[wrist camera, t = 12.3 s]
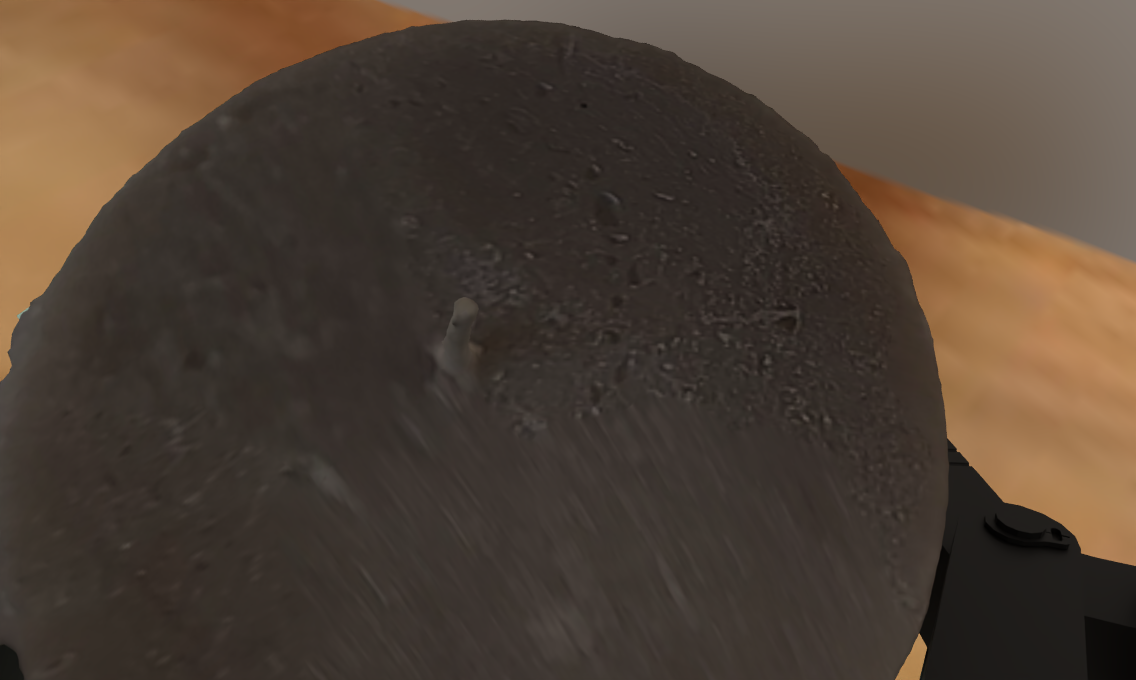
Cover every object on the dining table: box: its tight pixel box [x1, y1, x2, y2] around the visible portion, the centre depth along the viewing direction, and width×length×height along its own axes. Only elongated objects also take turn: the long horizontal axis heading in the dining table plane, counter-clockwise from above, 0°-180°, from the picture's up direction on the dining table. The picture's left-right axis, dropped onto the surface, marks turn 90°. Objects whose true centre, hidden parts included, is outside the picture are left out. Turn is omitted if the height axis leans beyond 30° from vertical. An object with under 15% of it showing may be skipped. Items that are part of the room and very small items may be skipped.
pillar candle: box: [0, 20, 949, 680], centre depth 13 cm, size 10×10×15 cm
